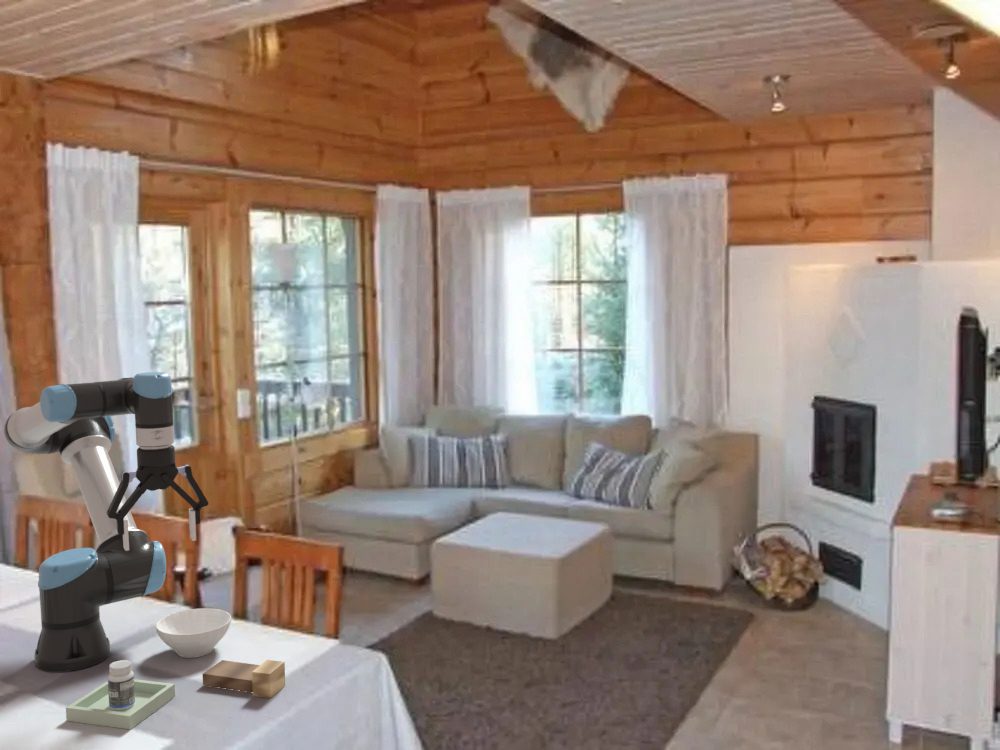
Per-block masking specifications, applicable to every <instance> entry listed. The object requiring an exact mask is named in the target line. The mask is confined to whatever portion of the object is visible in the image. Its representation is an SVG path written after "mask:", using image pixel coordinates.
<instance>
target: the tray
mask: <svg viewBox="0 0 1000 750" xmlns="http://www.w3.org/2000/svg"><path fill="white" fill-rule="evenodd" d="M175 686H176V684H175V683H170V682H161V681H153V680H144V679H136V678H134V688H135V704H134V705H133V706H132V707H130V708H128V709H125V710H112V709H111V708H110V707H109V692H108V680H107V681H105V682H104V683H102V684H101V685H99V686H97V687H95V688H94V689H93V690H91V691H90V692H88V693H86V694H85V695H83V696H82V697H80V698H78V699H77V700H75V701H74V702H72V703H71V704H70V705H68V706H65V715H66V716H65V717H66V722H74V723H81V724H88V725H93V726H102V727H109V728H117V729H123V730H132V729H133V728H135V727H136V726H137V725H139V724H140V723H141V722H143V721H144V720H146V719H147V718H148V717H150V716H151V715H152V714H154V713H155V712H156V711H158V710H160V708H162V707H163V706H165V704H167V703H168V702H170V701H171V700H173V699H174V698H175V697H176V687H175Z"/></svg>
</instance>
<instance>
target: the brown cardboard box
mask: <svg viewBox="0 0 1000 750" xmlns="http://www.w3.org/2000/svg"><path fill="white" fill-rule="evenodd" d="M260 665H261V664H255V663H248V662H247V663H246V662H239V661H233V660H232V661H230V660H223V659H222V660H220V661H218V662H217V663H216V664H215V665H213V666H212V667H210V668H208V669H207V670H206V671H204V672H202V686H203V685H205V686H204V687H208V686H211V687H210V688H215V687H220V688H219V689H222V688H226V689H225V690H229V689H233V690H232V691H236V690H240V691H239V692H243V691H247V692H246V693H250V692H253V687H252V671H254V670H255V669H256V668H257V667H259V666H260Z"/></svg>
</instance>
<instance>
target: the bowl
mask: <svg viewBox="0 0 1000 750" xmlns="http://www.w3.org/2000/svg"><path fill="white" fill-rule="evenodd" d="M231 623H232V616H231V613H229V612H227V611H226V610H223V609H218V608H208V607H207V608H206V607H205V608H192V609H185V610H181V611H176V612H174V613H171V614H168V615H166V616H164V617H162V618H161V619H160V620H158V621H157V622H156V624H155V629H156V633H157V635H158V637H159V638H160V639H161V641H163V643H164V644H165V645H166V646H168V647H169V648H170V649H172V650H173V651H174V652H176V654H177V655H178V656H179V657H180V658H189V659H191V658H199V657H203V656H207V655H209V654H210V653H212V651H213V650H214V649H215V647H216V646H217V645H218V644H219V642H220V641H221V640H222V639H223V638H224V636H225V635H226V634H227V632H228V630H229V629H230V626H231Z"/></svg>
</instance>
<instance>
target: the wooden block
mask: <svg viewBox="0 0 1000 750" xmlns="http://www.w3.org/2000/svg"><path fill="white" fill-rule="evenodd" d="M259 665H260V666H259V667H257V668H256V669H255V670H254V671H252V687H253V693H252V697H259V698H268V699H272V698H273V697H274V696H275V695H276V694H278V693H279V691H280V690H283V688H284V687H285V686H286V672H285V671H286V669H285V668H286V667H285V661H281V660H271V659H266V660H265V661H263V662H262V663H261V664H259Z"/></svg>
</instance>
